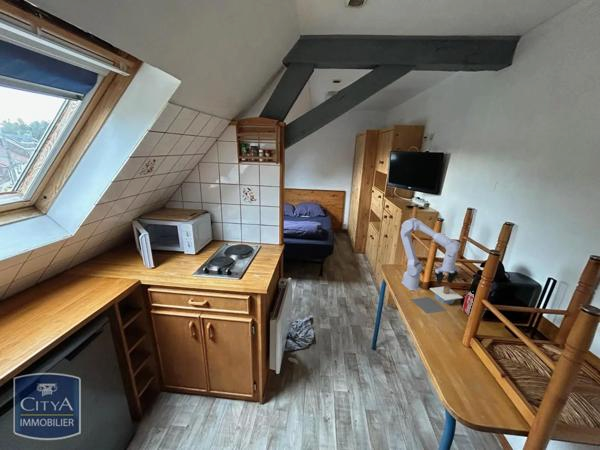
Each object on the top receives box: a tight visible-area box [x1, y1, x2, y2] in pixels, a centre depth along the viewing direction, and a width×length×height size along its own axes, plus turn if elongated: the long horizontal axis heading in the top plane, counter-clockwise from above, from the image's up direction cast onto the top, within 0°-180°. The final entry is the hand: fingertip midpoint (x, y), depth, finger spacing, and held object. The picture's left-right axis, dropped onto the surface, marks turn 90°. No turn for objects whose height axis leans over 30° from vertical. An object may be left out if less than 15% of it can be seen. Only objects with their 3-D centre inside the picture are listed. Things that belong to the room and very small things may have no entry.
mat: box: [410, 296, 447, 314], centre depth 137 cm, size 13×13×1 cm
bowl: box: [434, 293, 456, 305], centre depth 143 cm, size 10×10×4 cm
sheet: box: [429, 284, 464, 301], centre depth 141 cm, size 12×12×4 cm
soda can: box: [462, 290, 474, 317], centre depth 129 cm, size 7×7×12 cm
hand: (444, 282), depth 141 cm, fingers open, 7 cm apart
